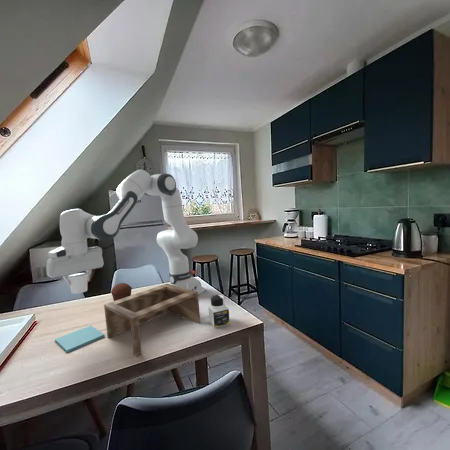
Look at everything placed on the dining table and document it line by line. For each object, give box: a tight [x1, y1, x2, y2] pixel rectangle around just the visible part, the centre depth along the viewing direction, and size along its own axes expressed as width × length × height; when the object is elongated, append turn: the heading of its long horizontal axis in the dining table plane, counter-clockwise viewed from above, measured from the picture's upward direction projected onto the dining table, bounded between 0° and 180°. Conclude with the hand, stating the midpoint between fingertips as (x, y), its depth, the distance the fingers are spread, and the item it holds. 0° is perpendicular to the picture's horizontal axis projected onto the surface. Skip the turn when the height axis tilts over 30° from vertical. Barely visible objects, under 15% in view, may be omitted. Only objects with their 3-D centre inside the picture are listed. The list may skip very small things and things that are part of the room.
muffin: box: [110, 282, 133, 301], centre depth 146 cm, size 12×11×10 cm
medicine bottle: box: [207, 294, 231, 329], centre depth 111 cm, size 7×7×12 cm
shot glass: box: [67, 272, 88, 295], centre depth 103 cm, size 7×7×7 cm
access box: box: [103, 283, 201, 357], centre depth 108 cm, size 31×23×14 cm
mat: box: [54, 325, 105, 354], centre depth 104 cm, size 14×14×1 cm
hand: (78, 283), depth 103 cm, fingers closed on shot glass, 5 cm apart
